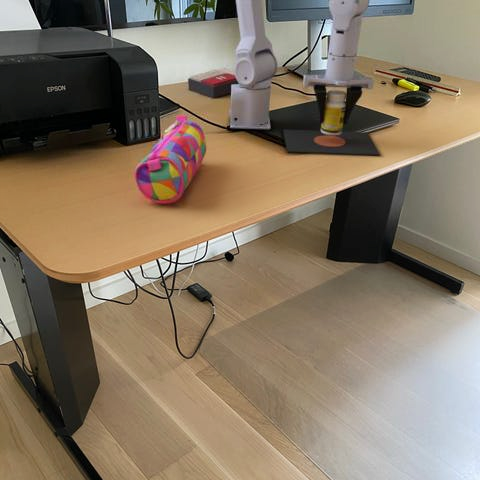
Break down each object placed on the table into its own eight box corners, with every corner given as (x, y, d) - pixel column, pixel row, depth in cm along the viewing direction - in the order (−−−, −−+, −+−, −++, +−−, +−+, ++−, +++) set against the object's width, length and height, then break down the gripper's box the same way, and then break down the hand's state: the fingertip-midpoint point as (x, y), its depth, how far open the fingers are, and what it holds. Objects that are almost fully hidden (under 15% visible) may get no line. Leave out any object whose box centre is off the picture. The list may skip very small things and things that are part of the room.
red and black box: (187, 75, 142) (225, 65, 150) (188, 91, 145) (225, 80, 153) (213, 84, 136) (252, 72, 144) (214, 100, 139) (252, 88, 147)
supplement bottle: (341, 137, 111) (347, 96, 106) (319, 134, 112) (324, 94, 106) (342, 129, 115) (348, 90, 109) (321, 127, 115) (326, 88, 110)
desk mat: (287, 152, 109) (287, 150, 109) (283, 131, 120) (283, 128, 120) (379, 156, 109) (380, 153, 109) (367, 134, 120) (367, 131, 120)
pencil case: (162, 158, 104) (159, 113, 98) (207, 161, 103) (207, 116, 98) (134, 205, 87) (129, 153, 81) (188, 210, 87) (187, 158, 81)
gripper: (308, 56, 100) (301, 127, 109) (381, 59, 100) (368, 129, 109) (305, 49, 106) (298, 116, 114) (374, 52, 106) (362, 119, 114)
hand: (332, 122), depth 112 cm, fingers closed on supplement bottle, 5 cm apart
